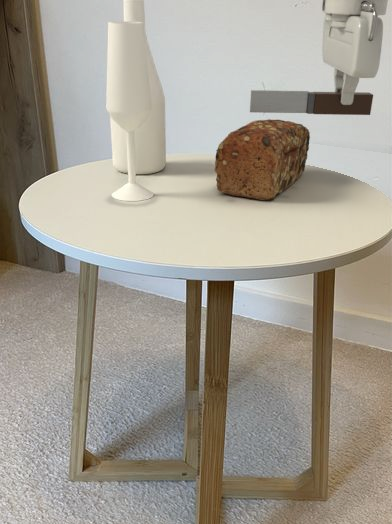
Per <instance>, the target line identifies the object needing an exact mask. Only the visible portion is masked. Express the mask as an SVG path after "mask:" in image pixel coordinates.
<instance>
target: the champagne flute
mask: <svg viewBox="0 0 392 524" xmlns="http://www.w3.org/2000/svg"><path fill="white" fill-rule="evenodd" d="M106 52H107V54H106V55H107V56H106V59H107V60H106V89H105V91H106V92H105V109H106V112H107V113H108V115H109V117H110V116H111V118H112V119H113V120H114V121H115V122H116V123H117V124H118V125H119V126H120V127H121V128H122V129H124V130H126V138H127V160H128V174H127V179H128V182H127V183H126V184H124V185H123V186H121V187H119V188H118V189H116V190H115V191H113V192H112V193H111V197H112V198H113V199H115V200H118V201H123V202H140V201H141V202H142V201H147V200H149V199H151V198H153V197H154V196H155V193H154V192H153V191H151V190H150V189H148V188H146V187H145V186H142V185H141V184H140V183H138V182H137V174H136V169H135V143H134V130H136V129H137V128H139V127H140V126H141V125H142V123H143V122H144V121H145V120H146V119H147V117H148V116H149V114H150V112H151V109H152V103H151V94H150V85H149V75H148V66H147V57H146V48H145V39H144V30H143V22H128V21H124V20H123V21H122V20H121V21H108V22H107V51H106Z"/></svg>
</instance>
